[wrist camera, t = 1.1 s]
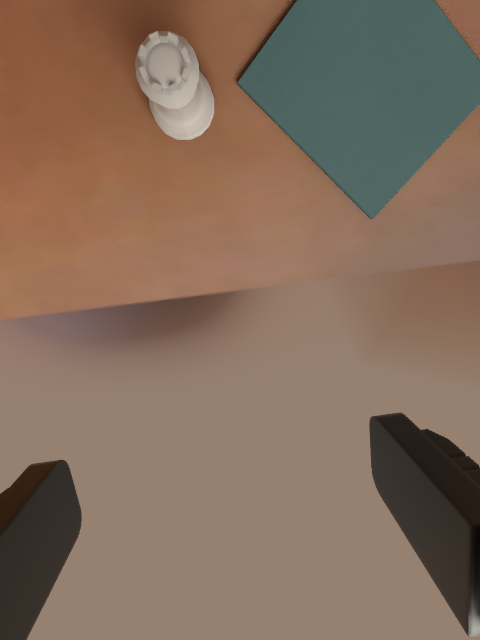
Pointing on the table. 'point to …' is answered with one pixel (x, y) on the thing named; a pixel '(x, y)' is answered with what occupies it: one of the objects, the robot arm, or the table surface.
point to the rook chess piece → (174, 85)
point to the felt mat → (366, 89)
